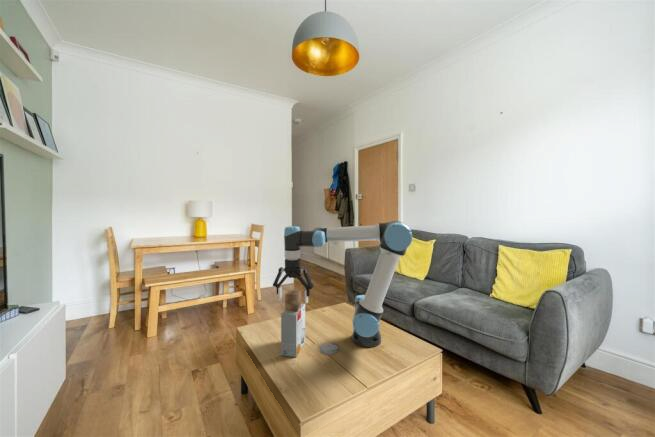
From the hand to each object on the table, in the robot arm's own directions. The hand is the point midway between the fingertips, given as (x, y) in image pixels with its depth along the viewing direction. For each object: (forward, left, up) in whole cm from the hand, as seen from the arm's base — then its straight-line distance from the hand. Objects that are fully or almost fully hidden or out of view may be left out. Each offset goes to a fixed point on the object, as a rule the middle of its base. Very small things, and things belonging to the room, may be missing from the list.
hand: (293, 301), depth 131 cm
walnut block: (0, 0, -4) cm, 4 cm away
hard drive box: (0, 0, -24) cm, 24 cm away
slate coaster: (-17, -3, -24) cm, 29 cm away
